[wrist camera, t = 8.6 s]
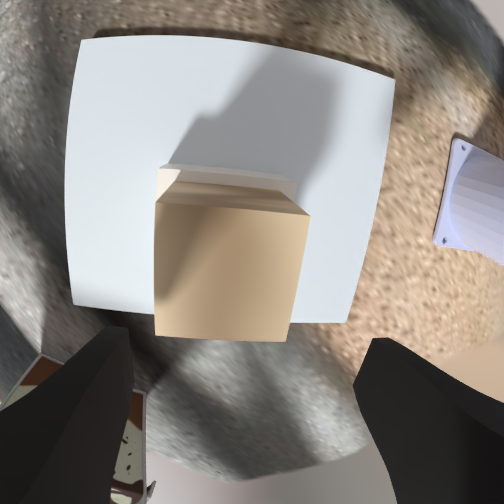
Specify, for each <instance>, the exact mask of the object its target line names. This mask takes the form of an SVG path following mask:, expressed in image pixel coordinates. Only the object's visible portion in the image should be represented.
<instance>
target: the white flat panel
mask: <svg viewBox="0 0 504 504" xmlns="http://www.w3.org/2000/svg"><path fill="white" fill-rule="evenodd" d="M394 88H395V80H394V79H392V78H389V77H386V76H384V75H381V74H378V73H375V72H372V71H370V70H367V69H364V68H360V67H357V66H354V65H351V64H348V63H344V62H341V61H337V60H334V59H330V58H326V57H323V56H319V55H315V54H310V53H306V52H302V51H297V50H293V49H288V48H283V47H277V46H272V45H266V44H260V43H254V42H247V41H239V40H231V39H221V38H210V37H196V36H173V35H142V36H119V37H106V38H95V39H86V40H82V41H81V45H80V50H79V54H78V59H77V64H76V70H75V75H74V81H73V88H72V95H71V102H70V110H69V119H68V129H67V142H66V159H65V225H66V242H67V255H68V266H69V275H70V283H71V291H72V298H73V305H79V306H86V307H94V308H101V309H109V310H118V311H126V312H136V313H145V314H154V296H153V256H154V221H155V201H156V186H157V172H158V168H159V167H161V166H163V165H165V164H167V163H177V164H190V165H202V166H213V167H224V168H233V169H242V170H251V171H259V172H267V173H275V174H282V175H284V176H286V177H288V178H290V179H292V180H294V181H296V182H297V188H296V194H295V201H294V203H295V204H297V205H298V206H299V207H300V208H302V209H303V210H304V211H305V212H306V213H308V214H309V215H310V216H311V217H310V223H309V229H308V234H307V240H306V245H305V250H304V256H303V261H302V266H301V271H300V276H299V281H298V286H297V291H296V296H295V300H294V305H293V310H292V315H291V319H290V322H294V323H346V320H347V317H348V314H349V310H350V307H351V304H352V301H353V297H354V294H355V290H356V287H357V283H358V280H359V276H360V272H361V269H362V265H363V261H364V257H365V253H366V249H367V245H368V241H369V237H370V233H371V228H372V224H373V220H374V215H375V210H376V206H377V201H378V196H379V191H380V186H381V180H382V175H383V169H384V163H385V157H386V151H387V145H388V138H389V131H390V123H391V116H392V107H393V98H394Z"/></svg>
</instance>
